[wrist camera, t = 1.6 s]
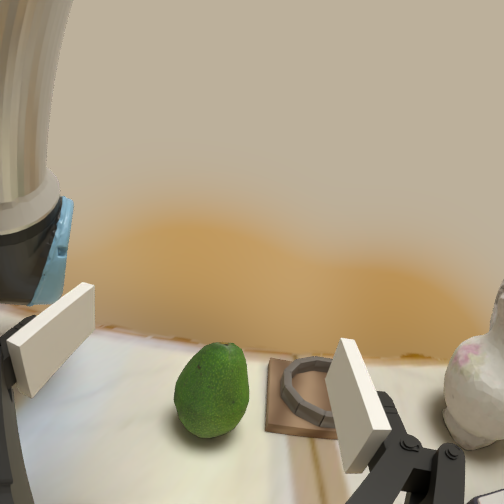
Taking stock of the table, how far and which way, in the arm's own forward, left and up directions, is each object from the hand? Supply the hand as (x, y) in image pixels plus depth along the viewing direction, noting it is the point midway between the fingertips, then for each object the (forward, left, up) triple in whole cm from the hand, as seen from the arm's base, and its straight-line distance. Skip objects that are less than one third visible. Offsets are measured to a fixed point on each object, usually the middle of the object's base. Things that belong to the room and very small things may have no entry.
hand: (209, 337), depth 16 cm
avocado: (0, +12, -21) cm, 24 cm away
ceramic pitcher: (+41, +17, -21) cm, 49 cm away
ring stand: (+15, +20, -20) cm, 32 cm away
